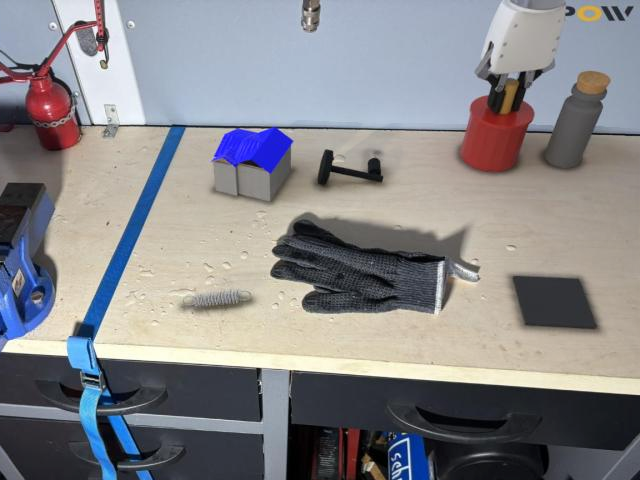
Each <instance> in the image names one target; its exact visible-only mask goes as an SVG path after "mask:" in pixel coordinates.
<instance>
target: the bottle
mask: <svg viewBox="0 0 640 480" xmlns="http://www.w3.org/2000/svg"><path fill="white" fill-rule="evenodd" d="M611 79H612V78H611V77H610V76H609V75H607V74H606V73H603V72H601V71H596V70H584V71H582V72H580V73H578V75H577V81H576V82H575V83H574V84H573V85H572V87H571V89H570V93H571V95H569V96H567V97H566V98H565V99H564V100H563V104H562V106H561V108H560V112H559V114H558V117H557V119H556V122H555V124H554V127H553V130H552V132H551V135H550V138H549V140H548V143H547V145H546V148H545V151H544V154H543V157H544V159H545V161H546V162H547V163H549V164H550V165H552V166H554V167H558V168H564V169H570V168H574V167H576V166H578V165H579V164H580V162H581V160H582V157H583V155H584V153H585V151H586V148H587V147H588V145H589V141H590V140H591V137H592V135H593V133H594V130H595V129H596V125H597V123H598V121H599V119H600V116H601V115H602V112H603V109H604V104H603V102H602V101H603V100H604V99H605V98H606V97H607V94H608V89H607V88H608V86H609V85H610V84H611Z"/></svg>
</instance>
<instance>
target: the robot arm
mask: <svg viewBox="0 0 640 480" xmlns="http://www.w3.org/2000/svg"><path fill="white" fill-rule="evenodd" d="M566 10H567V2H566V0H501V2H500V4H499V6H498V7H497V9H496V12H495V14H494V16H493V18H492V20H491V23H490V26H489V29H488V32H487V34H486V37H485V40H484V43H483V46H482V49H481V53H480V62H479V64H478V65H477V67H476V68H475V69H474V71H473V73H474V75H475V76H476V78H479V79H480V80H483V81H486V82H488V83H489V85H490V89H489V93H488V95H489V96H488V100H487V105H488V107H489V108H490V109H491V111H492V112H493V113H494V114H499V113H500V110H501V106H502V103H503V100H504V96H505V91H504V90H503V89H504V86H505V83H506V80H507V78H509V74H514V73H517V74H516V75H517V76H516V80H518V81H519V85H518V89H517V92H516V95H515V98H514V101H513V104H512V108H511V109H512V110H513V111H514V112H517V111H519V108H520V105H521V103H522V102H523V101H524V98H525V95H526V92H527V89H530V88H531V87H532V86H533V82H535V81H536V80H537V79H538V78H540V77H541V76H542V75H543V74H545V73H547V72H549V71H551V70H553V69H554V68H555V66H556V61H555V60H556V59H555V57H556V54H557V51H558V48H559V44H560V42H561V36H562V34H563V29H564V24H565V18H566Z"/></svg>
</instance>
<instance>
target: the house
mask: <svg viewBox="0 0 640 480" xmlns="http://www.w3.org/2000/svg"><path fill="white" fill-rule="evenodd" d="M293 143H294V140H293V139H292V138H290V137H289V136H288V135H287V134H285V133H284V132H283V131H282V130H280V129H279V128H278V127H276V126H274V127H273V126H272V127H270V128H267V129H264V130H262V131H259V132H257V131H252V130H248V129H242V128H235V129H233V130H231V131H228V132H226V133H224V135H223V136H222V138H221V140H220V143H219V145H218V147H217V148H216V151H215V152H214V155H213V158H212V160H210V163H212V166H213V176H214V187H215V188H214V189H215V191H217V192H221V193H225V194H229V195H232V196H236V197H237V196H238V195H243V196H246V197H250V198H254V199H257V200H262V201H265V202H271V201H272V199H273V198H274V197H275V195H276V193H277V192H278V191H279V189H280V188H281V186H282V184H283V183H284V181H285V180H286V178H287V177H288V176H289V174H290V172H292V165H291V164H292V144H293Z"/></svg>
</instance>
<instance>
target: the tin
mask: <svg viewBox="0 0 640 480" xmlns="http://www.w3.org/2000/svg"><path fill="white" fill-rule="evenodd" d="M529 125H530V124H529ZM529 125H527V126H525V127H523V128H519V129H513V130H503V129H496V128H491V127H488V126H485V125H483V124H481V123H479V122H478V121H476V120H475V119H474V118H473V117H472V116H471V114H470V113H469V117H468V121H467V125H466V129H465V133H464V135H463V141H462V144H461V148H460V157H461V159H462V160H463V162H464V163H466V164H467V165H468V166H470V168H473V169H476V170H479V171H483V172H489V173H498V172H499V173H500V172H504V171H507V170H510V169H512V168H513V167H514V166H515V165H516V163H517V160H518V158H519V154H520V152H521V148H522V145H523V143H524V139H525V138H526V135H527V132H528V128H529Z"/></svg>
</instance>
